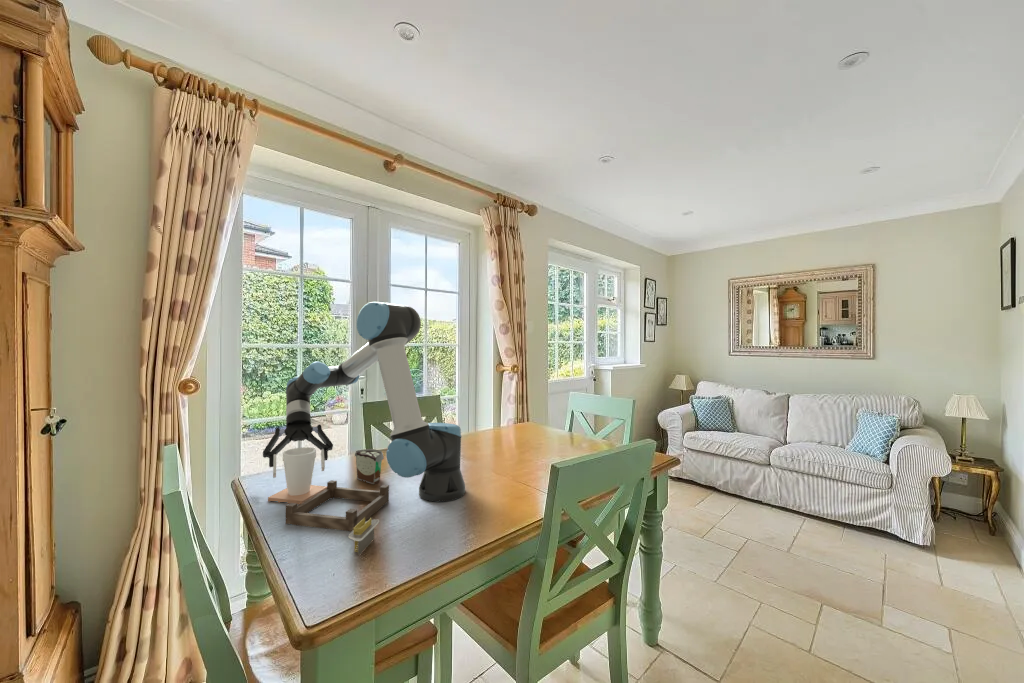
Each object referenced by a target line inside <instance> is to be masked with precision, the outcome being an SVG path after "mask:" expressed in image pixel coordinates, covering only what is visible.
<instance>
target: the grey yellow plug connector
mask: <svg viewBox="0 0 1024 683" xmlns="http://www.w3.org/2000/svg"><path fill="white" fill-rule="evenodd" d="M378 524H380V519H377V518H376V519H372V517H369V518H368V519H367V520H366V521H365V518H364V519H363V520H361V521H360V522H359V523H358V524H357V525H356V526H355V527H354V530H353V531H350V533H349V534H348V539H350V540H352V541H354V553H357V557H360V555H361V554H362V553H363V552H364V551H365V550H366V549H367V548H368V547H369V546H370V544H371V543H372V542H373V541H374V540H375V528H376V526H378ZM373 539H374V540H373ZM372 540H373V541H372ZM371 541H372V542H371ZM366 547H367V548H366ZM365 548H366V549H365ZM364 549H365V550H364ZM363 550H364V551H363ZM362 551H363V552H362Z"/></svg>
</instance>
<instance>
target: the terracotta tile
mask: <svg viewBox="0 0 1024 683" xmlns="http://www.w3.org/2000/svg"><path fill="white" fill-rule="evenodd" d="M326 489H327V485H326V486H325V485H315V484H311V488H310V491H309V492H308V493H306V494H302V495H289V494H288V491H287V487H286V488H284V489H282V490H280V491H278V492H276V493H273V494H272V495H270V496H268V497H267V501H268V502H270V501H278V502H277V503H280V502H288V503H287V504H290V503H297V505H300V504H302V503H304V502H305V501H307V500H309V499H310V498H312V497H314V496H316V495H317V494H319V493H321V492H322V491H324V490H326Z"/></svg>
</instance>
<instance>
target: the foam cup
mask: <svg viewBox="0 0 1024 683" xmlns="http://www.w3.org/2000/svg"><path fill="white" fill-rule="evenodd" d="M316 457H317V449H316V448H314V447H303V446H302V447H295V448H290V449H287V450H284V451H283V452H282V461H283V468H284V474H285V475H284V476H285V482H286V488H287V491H288V494H289V495H302V494H306V493H308V492H309V491H310V488H311V485H312V482H313V481H312V480H313V474H314V468H315V462H316Z"/></svg>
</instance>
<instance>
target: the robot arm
mask: <svg viewBox="0 0 1024 683" xmlns="http://www.w3.org/2000/svg"><path fill="white" fill-rule="evenodd" d="M421 322H422V321H421V317H420V314H419V313H418V311H416V309H414V308H413V307H411V306H410V305H407V304H397V303H391V302H385V301H371V302H367V303H366V304H364V305H363V307H362V308H361V309H360V310H359V313H358V314H357V318H356V322H355V323H356V330H357V333H358V335H359V336H360V337H362V338H363V339H365V340H366V341H368V342H367V343H366V344H365V345H363V346H362V347H360V348H359V349H358V350H356V351H355V352H354V353H353V354H352V355H350V356H349V357H348V358H347V359H345V360H343V361H342V362H341V363H340V364H339V365H331V366H330V365H329V366H328V364H326V363H324V362H321V361H313V362H312V363H310V364H309V365H308V366H307V367H305V368H304V370H303V371H302V373H301V374H300V375H299V376H294V377H292V378H290V379H289V380H288V381H287V383H286V388H285V395H286V399H285V401H286V403H285V404H286V406H285V407H286V408H285V410H286V411H285V412H286V414H285V416H286V417H285V418H286V419H285V421H286V422H285V423H286V424H285V429H281V428H280V427H276V428H275V430H274V434H273V436H272V438H271V439H270V440H269V442H268V443H267V445H266V447H265V448H264V450H263V451H262V457H263V458H265V459H266V458H268V461H269V462H268V467H269V468H272V477H273V479H274V478H276V477H277V455H278V454H279V453H280V452H281V451H282V450H283V449H284V448H285V447H286V446H287V445H289V444H290V443H291V442H298V441H299V442H300V441H305V440H306V441H307V442H308V443H309V442H310V443H311V444H313V445H314V446H315V447H316V448H317V449H319V450H320V466H321V468H320V469H321V472H325V468H326V467H325V466H326V462H325V461H328V458H329V453H328V452H329V451H332V450H333V447H334V444H333V442H332V441H331V440H330V438H329V437H328V436H327V435H326V434H327V433H325V432H324V430H323V427H322V425H321V424H317V426H312V417H311V413H312V412H311V397H312V395H314V394H315V392H316V391H317V390H318V389H321V388H322V389H323V388H327V387H328V388H331V387H339V386H350V385H354V384H356V383H357V382H359V378H360V375H361V374H363V373H364V372H366V371H367V370H369V368H371V367H372V366H373V365H374V364H375V365H376V364H377V362H378V365H379V369H380V374H381V377H382V382H383V385H384V386H383V387H384V390H385V395H386V399H387V403H388V406H389V408H388V409H389V412H390V416H391V421H392V424H393V429H392V431H391V432H390V434H389V435H390V440H391V441H390V443H389V444H388V446H387V450H386V454H385V455H386V461H387V464H388V466H389V468H390V469H391V470H392V471H393V472H394V473H395V474H397V475H398V476H400V477H401V478H412V477H416V476H420V475H422V477H421V480H420V484H419V487H418V496H419V498H421V499H422V498H423V500H425V501H428V500H429V501H428V502H434V501H444V502H451V501H454V500H458V499H460V498H462V497H463V496H465V494H466V483H465V481H464V480H465V479H464V478H463V475H462V471H461V452H462V451H461V448H462V447H461V446H462V435H461V433H462V432H461V431H462V429H461V427H460V425H458V424H455V423H449V422H426V421H424V419H423V417H422V412H421V409H420V405H419V400H418V397H417V393H416V388H415V384H414V380H413V377H412V373H411V368H410V364H409V361H408V357H407V353H406V348H405V345H407V344H409V343H410V342H411V341H412V340H413V339H414V338H416V336H417V335H418V334H419V332H420V330H421V326H422V324H421ZM313 432H314V433H315V434H317V435H318V437H319V438H320V439H319V438H317V437H316V436H315V435H314V433H313ZM283 434H284V435H285V436H284V438H283V439H282V440H281V441H280V442H279V443H278V444H276V443H277V442H278V440H279V438H280V437H282V435H283ZM275 445H276V446H275ZM464 493H465V494H464ZM461 496H462V497H461ZM457 498H458V499H457Z"/></svg>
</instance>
